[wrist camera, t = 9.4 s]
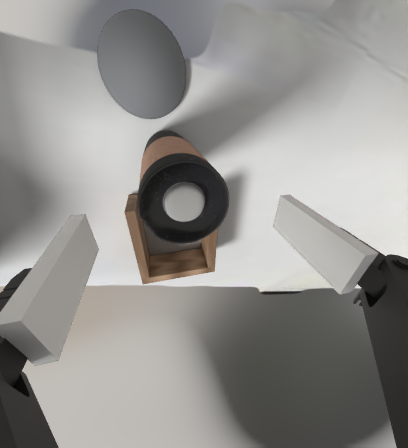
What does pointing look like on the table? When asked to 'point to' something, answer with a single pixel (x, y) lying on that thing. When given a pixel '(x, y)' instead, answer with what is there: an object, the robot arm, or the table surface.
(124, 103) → the coaster
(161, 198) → the travel mug
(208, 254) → the frame
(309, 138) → the table surface
